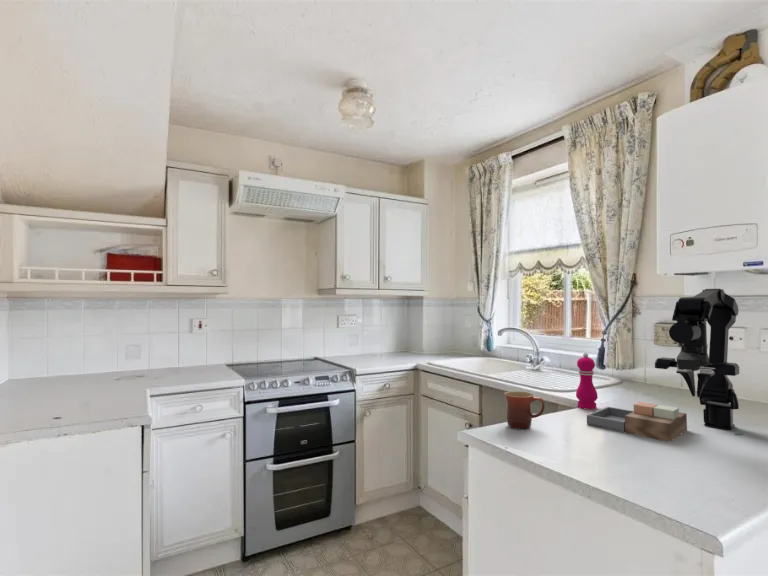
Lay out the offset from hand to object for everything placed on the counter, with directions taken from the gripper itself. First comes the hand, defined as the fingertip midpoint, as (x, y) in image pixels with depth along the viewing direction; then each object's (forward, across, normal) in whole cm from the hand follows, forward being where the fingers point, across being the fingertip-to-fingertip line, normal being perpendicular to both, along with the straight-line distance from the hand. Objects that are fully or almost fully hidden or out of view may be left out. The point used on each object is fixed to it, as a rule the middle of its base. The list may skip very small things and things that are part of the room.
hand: (696, 396), depth 121 cm
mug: (+12, -39, -25) cm, 48 cm away
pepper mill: (+12, -37, +14) cm, 41 cm away
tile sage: (+7, -8, 0) cm, 10 cm away
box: (+12, -22, 0) cm, 25 cm away
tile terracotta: (+7, -13, 0) cm, 15 cm away
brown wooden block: (+12, -10, 0) cm, 16 cm away
